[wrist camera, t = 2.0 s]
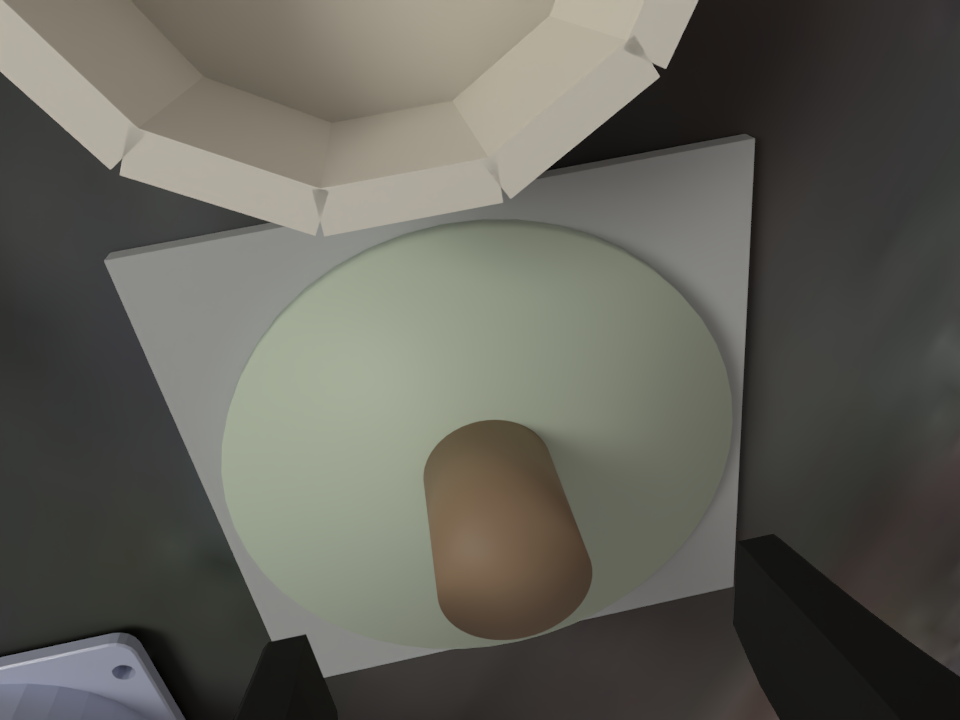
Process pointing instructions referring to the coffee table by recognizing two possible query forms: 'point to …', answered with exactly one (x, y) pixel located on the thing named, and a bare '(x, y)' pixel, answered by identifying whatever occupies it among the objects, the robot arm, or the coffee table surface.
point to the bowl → (336, 94)
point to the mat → (305, 258)
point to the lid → (475, 434)
